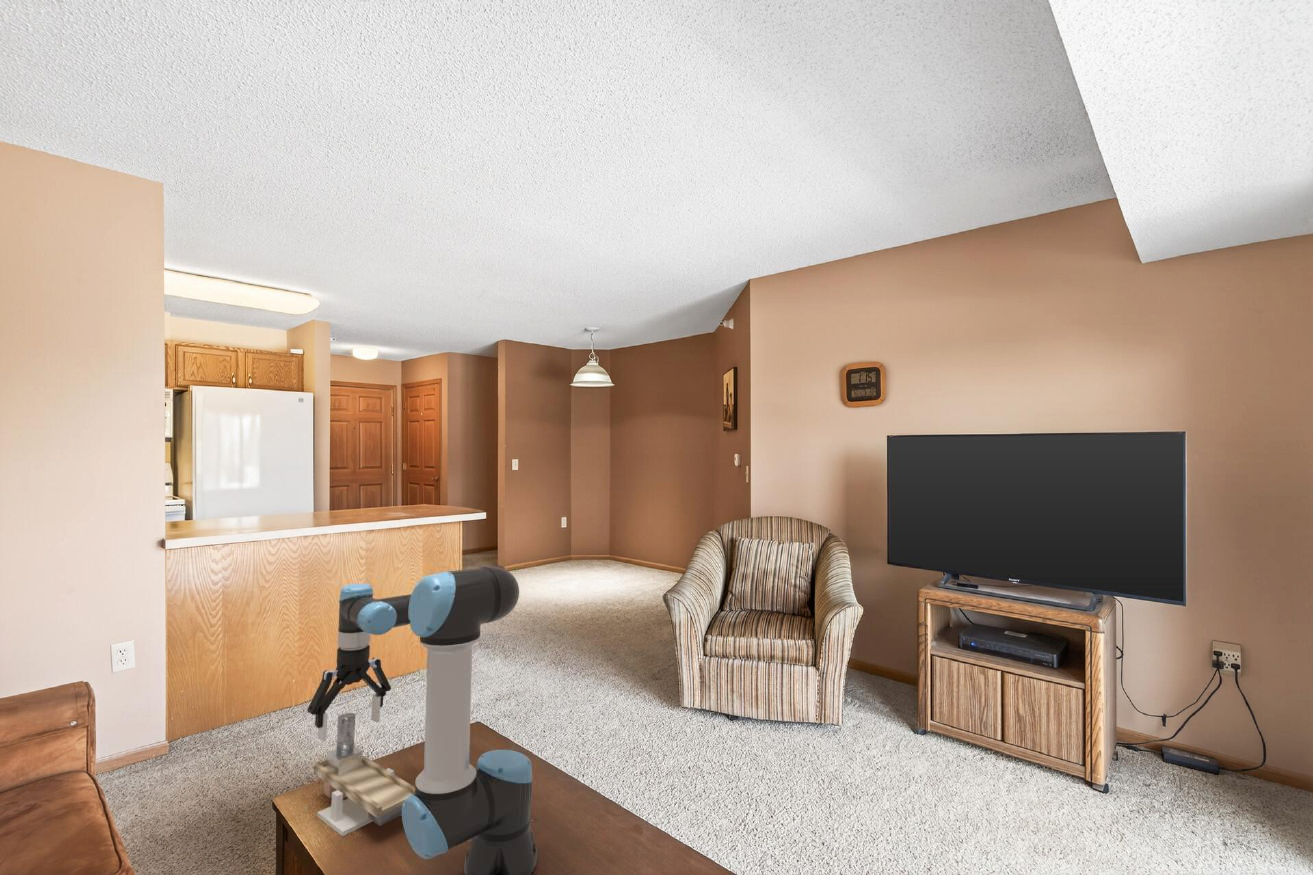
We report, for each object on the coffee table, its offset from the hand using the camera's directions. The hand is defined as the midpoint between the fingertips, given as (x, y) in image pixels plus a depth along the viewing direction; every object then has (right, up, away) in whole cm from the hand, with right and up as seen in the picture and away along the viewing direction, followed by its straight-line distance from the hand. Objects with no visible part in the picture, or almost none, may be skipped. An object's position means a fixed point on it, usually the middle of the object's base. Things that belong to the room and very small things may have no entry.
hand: (349, 729), depth 152 cm
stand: (+3, -17, -3) cm, 18 cm away
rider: (-2, -10, +1) cm, 10 cm away
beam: (+6, -14, -5) cm, 16 cm away
